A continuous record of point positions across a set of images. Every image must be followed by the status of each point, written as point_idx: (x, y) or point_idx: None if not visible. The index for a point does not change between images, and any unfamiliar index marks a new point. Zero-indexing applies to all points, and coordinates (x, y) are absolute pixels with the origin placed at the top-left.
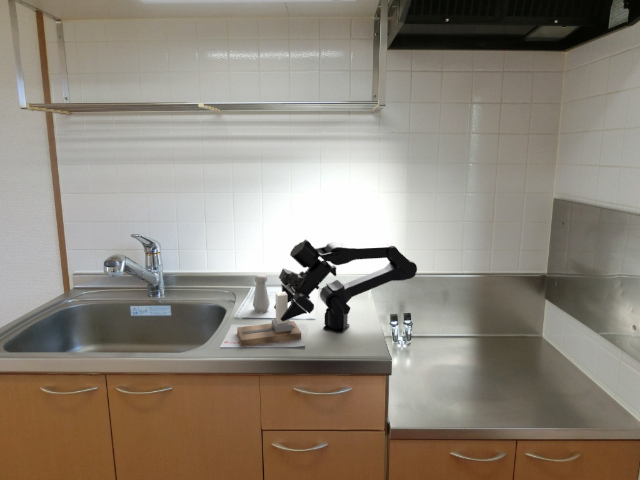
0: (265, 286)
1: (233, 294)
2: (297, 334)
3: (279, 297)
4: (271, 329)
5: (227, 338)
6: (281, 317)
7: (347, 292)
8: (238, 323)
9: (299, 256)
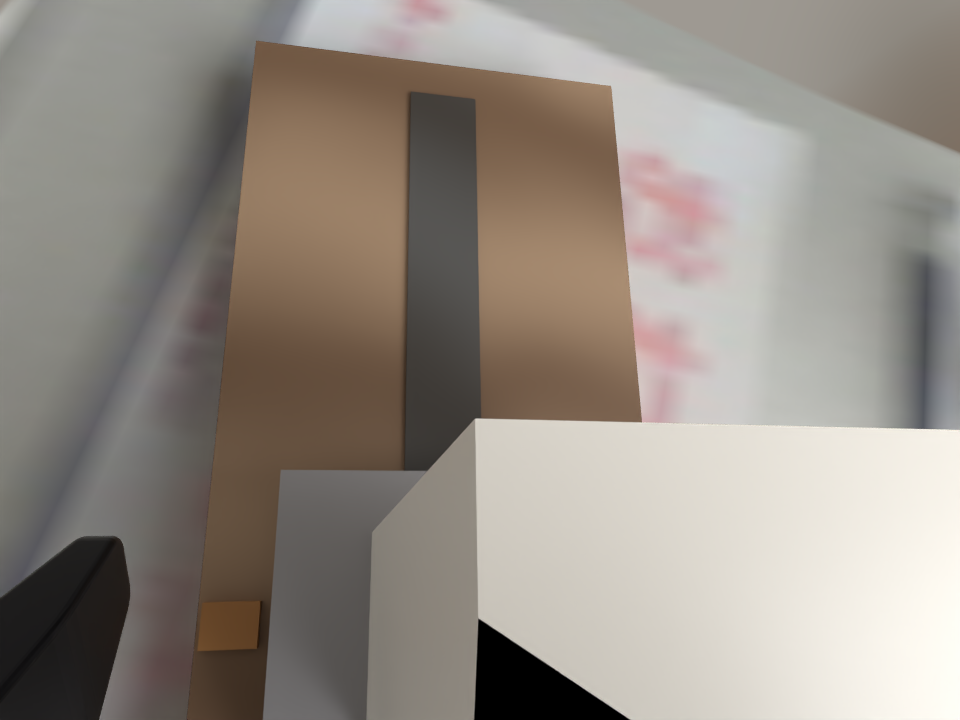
0: None
1: None
2: None
3: (452, 581)
4: (442, 451)
5: (495, 31)
6: (80, 562)
7: None
8: (811, 194)
9: None
